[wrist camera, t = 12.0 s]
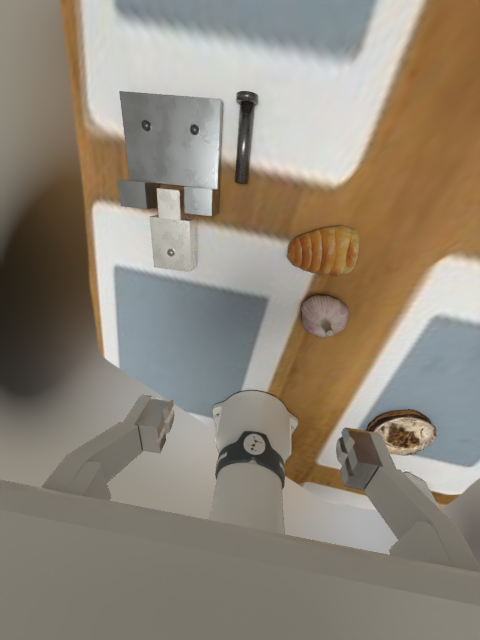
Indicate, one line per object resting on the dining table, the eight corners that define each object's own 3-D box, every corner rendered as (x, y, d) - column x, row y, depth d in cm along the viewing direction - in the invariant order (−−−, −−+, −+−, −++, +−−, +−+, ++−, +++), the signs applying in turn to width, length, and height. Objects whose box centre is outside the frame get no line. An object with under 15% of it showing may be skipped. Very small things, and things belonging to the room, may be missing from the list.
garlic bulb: (293, 298, 39) (296, 322, 32) (338, 281, 37) (353, 303, 30) (308, 335, 42) (314, 364, 35) (351, 321, 40) (367, 349, 33)
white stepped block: (196, 265, 39) (189, 272, 35) (163, 260, 39) (153, 267, 36) (196, 191, 33) (188, 191, 30) (158, 187, 34) (146, 187, 31)
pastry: (286, 272, 38) (287, 280, 34) (288, 225, 34) (290, 229, 31) (349, 271, 36) (357, 280, 33) (357, 224, 33) (367, 227, 30)
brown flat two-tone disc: (345, 437, 54) (351, 455, 50) (386, 393, 47) (396, 410, 43) (405, 457, 55) (414, 476, 51) (454, 417, 48) (469, 436, 44)
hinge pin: (250, 183, 32) (248, 183, 30) (233, 182, 32) (229, 181, 30) (258, 99, 28) (256, 92, 26) (238, 97, 28) (235, 90, 26)
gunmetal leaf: (218, 212, 34) (211, 216, 31) (138, 204, 35) (121, 206, 31) (223, 103, 29) (215, 89, 25) (126, 95, 29) (103, 81, 25)
